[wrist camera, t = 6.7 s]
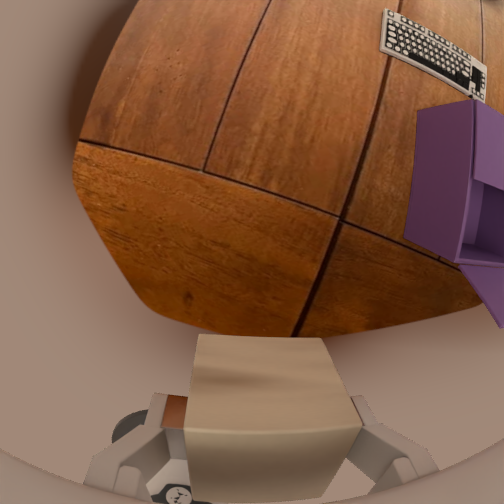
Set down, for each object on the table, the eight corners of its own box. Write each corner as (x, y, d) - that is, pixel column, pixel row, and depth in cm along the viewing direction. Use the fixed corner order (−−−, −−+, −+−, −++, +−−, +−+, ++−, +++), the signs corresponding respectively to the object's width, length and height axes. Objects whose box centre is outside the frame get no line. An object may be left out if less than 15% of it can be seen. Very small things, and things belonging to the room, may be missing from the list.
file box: (473, 247, 32) (524, 271, 22) (402, 237, 31) (458, 265, 21) (486, 140, 28) (541, 142, 18) (417, 110, 27) (476, 98, 17)
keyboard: (378, 50, 25) (385, 46, 23) (380, 11, 23) (386, 6, 21) (481, 105, 26) (489, 104, 25) (480, 68, 25) (487, 66, 23)
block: (300, 417, 12) (321, 498, 7) (199, 415, 11) (192, 501, 7) (321, 336, 10) (364, 424, 6) (198, 332, 10) (182, 428, 6)
